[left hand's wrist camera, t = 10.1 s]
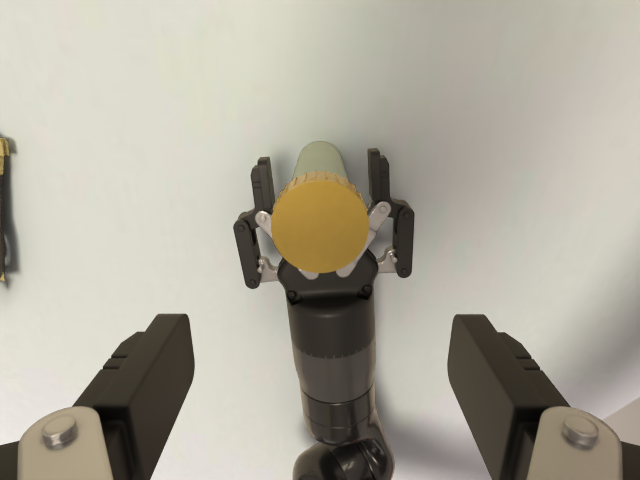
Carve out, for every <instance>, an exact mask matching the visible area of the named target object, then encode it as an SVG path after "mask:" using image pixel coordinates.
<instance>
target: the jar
mask: <svg viewBox="0 0 640 480" xmlns="http://www.w3.org/2000/svg"><path fill="white" fill-rule="evenodd" d="M315 170H317V171H323V172H325V170H326V171H327V172H330V173H334V174H336V173H338V175H339V176H341V177H343V178H347V174H346V171H345V168H344V164H343V161H342V158H341V155H340V153H339V151H338V150H337V149H336V148H335V147H334V146H333V145H332V144H330V143H327V142H324V141H317V142H312V143H310V144H308V145H307V146H306V147H305V148H304V149H303V150H302V151H301V153H300V155H299V158H298V161H297V164H296V168H295V171H294V174H293V178H292V181H293V180H294V178H295V177H299V176H301V175H303V174H304V173H305V172H306V173H310V172H315ZM347 180H348V178H347Z"/></svg>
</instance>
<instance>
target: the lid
mask: <svg viewBox="0 0 640 480" xmlns="http://www.w3.org/2000/svg"><path fill="white" fill-rule="evenodd" d="M273 210H274V211H273V214H272V216H271V233H272V238H273V241H274V244H275V246H276V248H277V250H278V251H279V253H280V254H281V255H282V256H283V258H284V259H285V260H287V261H288V262H289V263H290V264H292V265H293V266H295V267H297V268H299V269H301V270H304V271H307V272H312V273H328V272H333V271H336V270H339V269H341V268H343V267H345V266H347V265H348V264H350V263H351V262H352V261H353V260H355V259H356V258H357V256H358V255H359V254H360V253H361V251H362V250H363V248H364V246H365V244H366V241H367V238H368V233H369V222H370V221H369V218H368V215H367V212H368V210H367V207H366V205H365V202H364V201H363V198H362V195H361V193H360V192H359V193H358V191H357V190H356V187H355V185H354V184H353V185H352V184H351V183H350V182H349V181H348V180H347V178H343V177H341V176H339V175H338V173H336V174H334V173H330V172H327V171H326V170H325V172H323V171H317V170H315V172H310V173H306V172H305V173H304V174H303V175H301V176H299V177H295V178H294V180H293V181H291V182H290V183H287V184H286V187H285V188H284V190H283V191H280V194H279V196H278V199H277V200H276V202H275V205H274V207H273Z"/></svg>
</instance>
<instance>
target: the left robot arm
mask: <svg viewBox="0 0 640 480" xmlns="http://www.w3.org/2000/svg"><path fill="white" fill-rule="evenodd" d="M194 368H195V362H194V353H193V345H192V338H191V330H190V322H189V318H188V316H187V314H158V315H157V316H156V317H155V318H154V320H153V321H152V323H151V324H150V325H149V327H148V328H147V330H146V331H145V332H136V333H135V334H134V335H132V336H131V337H129V338H128V339H126V340H125V341H123V342H122V343H121V344H120V345H119V347H118V348H117V349H116V350H115V352H114V353H113V354H112V356H111V358H109V359H108V361H107V362H106V363H105V365H104V366H103V369H102V370H100V371H99V372H98V374H97V375H96V376H95V378H94V379H93V380H92V381H91V383H90V384H89V385H88V387H87V388H86V389H85V390H84V392H83V393H82V394H81V396H80V397H79V398H78V399H77V401H76V402H75V403H74V405H73V406H72V407H69V408H64V409H61V410H58V411H55V412H53V413H51V414H49V415H47V416H45V417H43V418H41V419H40V420H38V421H37V422H36V423H34V424H33V425H32V426H31V427H30V428H29V429H28V430H27V431H26V432H25V433H24V434H23V436H22V437H21V439H20V441H17V442H13V443H8V444H4V445H0V480H150V479H151V476H152V474H153V472H154V469H155V467H156V465H157V462H158V460H159V458H160V456H161V453H162V451H163V449H164V446H165V444H166V442H167V439H168V437H169V435H170V432H171V430H172V428H173V425H174V423H175V421H176V418H177V416H178V414H179V412H180V409H181V407H182V405H183V402H184V400H185V398H186V395H187V393H188V391H189V388H190V386H191V384H192V381H193V376H194ZM448 376H449V381H450V384H451V387H452V389H453V391H454V393H455V396H456V398H457V400H458V403H459V405H460V407H461V409H462V412H463V414H464V416H465V419H466V421H467V423H468V425H469V428H470V430H471V432H472V435H473V437H474V439H475V441H476V444H477V446H478V448H479V450H480V453H481V455H482V457H483V460H484V462H485V464H486V466H487V469H488V471H489V473H490V476H491V478H492V480H640V446H638V445H634V444H629V443H625V442H622V441H620V439H619V438H618V436H617V434H616V433H615V432H614V431H613V430H612V429H611V428H610V427H609V426H608V425H607V424H606V423H604V422H603V421H602V420H600V419H599V418H597V417H595V416H593V415H591V414H589V413H587V412H585V411H582V410H579V409H576V408H571V407H570V405H569V404H568V403H567V402H566V400H565V399H564V398H563V396H562V395H561V394H560V393H559V391H558V390H557V389H556V387H555V386H554V385H553V384H552V382H551V381H550V380H549V378H548V377H547V376H546V375H545V373H544V372H543V371H542V370H540V367H539V366H538V364H537V363H536V362H535V361H534V359H532V358H531V355H530V354H529V353H528V352H527V350H526V349H525V348H524V347H523V345H522V344H521V343H520V342H518V341H517V340H515V339H514V338H512V337H511V336H509V335H508V334H506V333H505V332H497V331H496V330H495V328H494V327H493V325H492V324H491V323H490V321H489V320H488V318H487V317H486V316H485V315H483V314H457V315H455V317H454V319H453V324H452V332H451V339H450V347H449V354H448Z"/></svg>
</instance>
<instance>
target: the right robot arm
mask: <svg viewBox="0 0 640 480" xmlns="http://www.w3.org/2000/svg"><path fill="white" fill-rule="evenodd" d="M368 173H369V194H370V196H371V199H372V200H371V201H370V202H369V204H368V205H367V210H368V212H367V215H368V218H369V221H370V222H369V233H368V238H367V241H366V244H365V246H364V248H363V250H362V251H361V253H360V254H359V255H358V256H357V258H356V259H355V260H353V261H352V262H351V263H350V264H348V265H347V266H345V267H343V268H341V269H339V270H336V271H333V272H328V273H312V272H307V271H304V270H301V269H299V268H297V267H295V266H293V265H292V264H290V263H289V262H288V261H287V260H285V259H284V258H282V260H281V262H280V263H279V266H278V267H276V266H273V265H272V264H271V263H270V261H269V259H268V258H267V257H265V256H261V254H260V249H259V244H258V239H257V234H256V229H255V228H257V227H261V228H262V229H263V230H264V231H265V232H266V233H267V234H268V235H269V236H270V237H271V238H272V233H271V216H272V214H273V211H274V210H273V205H274V203H275V195H274V187H273V179H272V171H271V163H270V158H269V157H260V158H259V160H258V165H255V166H254V167H253V169H252V172H251V181H252V188H253V195H254V202H255V208H254V209H253V210H251V211H248V212H243V213H241V214H240V216H239V218H238V220H237V221H236V222H235V224H234V226H233V229H234V233H235V238H236V243H237V247H238V252H239V256H240V261H241V266H242V270H243V275H244V279H245V284H246V286H247V287H248V288H251V289H255V288H257V287H258V286H259V284H260V283H262V282H271V281H279V282H280V283H281V284H282V285H283V287H284V289H285V292H286V300H287V307H288V315H289V323H290V331H291V339H292V347H293V355H294V362H295V367H296V371H297V374H298V377H299V381H300V389H301V398H302V406H303V414H304V419H305V423H306V426H307V428H308V430H309V432H310V434H311V435H312V436H313V437H314V438H315V439H316V440H318V441H319V442H320V443H318V444H316V445H314V446H312V447H310V448H309V449H307V450H306V451H304V452H303V453H302V454H301V455H300V456H299V457H298V458H297V460H296V462H295V464H294V469H293V480H391V479H392V476H393V473H394V469H395V461H394V456H393V453H392V450H391V448H390V446H389V443H388V441H387V439H386V437H385V434H384V431H383V428H382V426H381V423H380V420H379V417H378V414H377V410H376V407H375V384H374V370H375V362H376V345H375V320H374V296H373V283H374V279H375V277H376V276H377V274H378V273H397V274H398V276H399V277H401V278H406V277H408V276H410V274H411V272H412V254H413V233H414V211H413V210H412V209H411V207H410V206H409V205H408V203H407V202H406V201H404V200H396V199H393V198H391V197H390V186H389V164H388V161H387V159H386V157H385V156H384V155H380V152H379V150H378V149H377V148H372V149H368ZM387 217H391V218H393V246H389V247H387V248H386V249H385V252H384V255H383V256H382V257H381V258H379V259H376V257H375V256H374V255H373V253H372V252H371V251H370V250H369V249H368V246H369V245H370V243H371V242H372V241H373V239H374V238H375V236H376V234H377V231H378V229H379V227H380V226H381V225H382V223H383V222H384V220H385V219H386V218H387ZM272 240H273V238H272ZM273 242H274V241H273Z"/></svg>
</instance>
